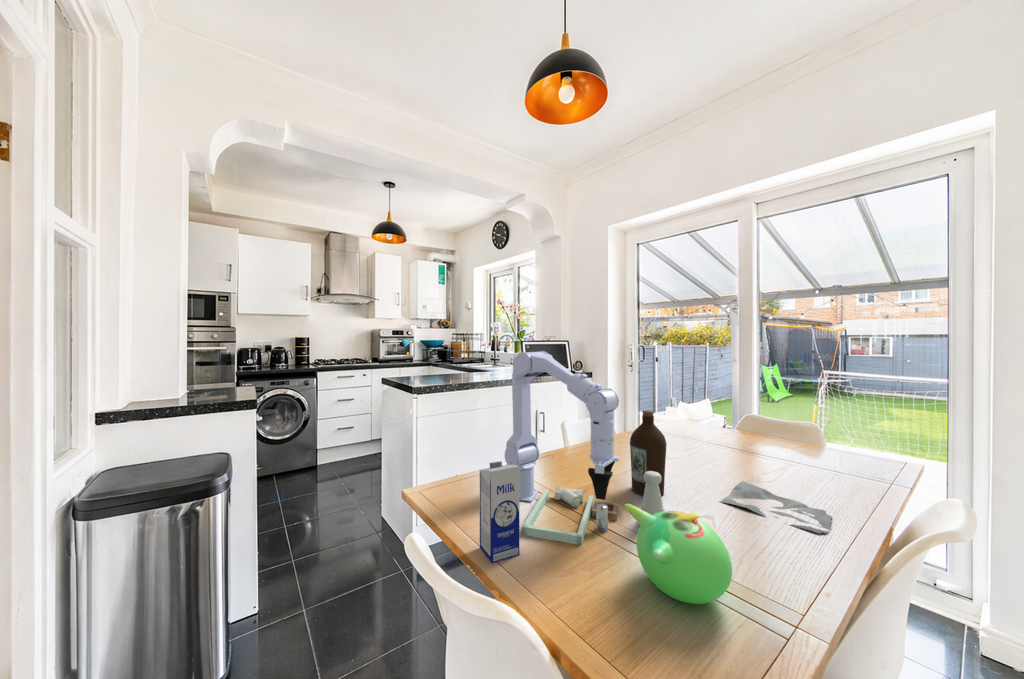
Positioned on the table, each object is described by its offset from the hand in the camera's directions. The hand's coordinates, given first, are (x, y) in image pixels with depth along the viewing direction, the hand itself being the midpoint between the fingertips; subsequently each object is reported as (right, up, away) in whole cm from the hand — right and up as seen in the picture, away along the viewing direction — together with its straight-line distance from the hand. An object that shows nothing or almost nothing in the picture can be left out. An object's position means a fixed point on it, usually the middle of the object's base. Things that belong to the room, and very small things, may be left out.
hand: (602, 492), depth 95 cm
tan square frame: (+3, -9, +9) cm, 13 cm away
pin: (0, -9, 0) cm, 9 cm away
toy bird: (+9, -10, -22) cm, 26 cm away
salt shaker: (+14, -10, +4) cm, 17 cm away
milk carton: (-25, -10, -9) cm, 29 cm away
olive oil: (+19, -9, +23) cm, 32 cm away
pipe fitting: (-6, -10, +15) cm, 19 cm away
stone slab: (+51, -10, +11) cm, 53 cm away
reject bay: (-9, -9, +7) cm, 15 cm away
